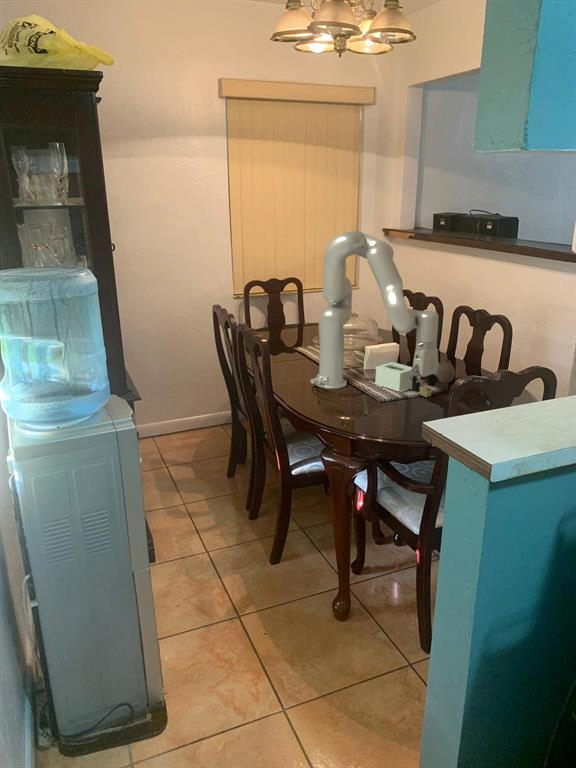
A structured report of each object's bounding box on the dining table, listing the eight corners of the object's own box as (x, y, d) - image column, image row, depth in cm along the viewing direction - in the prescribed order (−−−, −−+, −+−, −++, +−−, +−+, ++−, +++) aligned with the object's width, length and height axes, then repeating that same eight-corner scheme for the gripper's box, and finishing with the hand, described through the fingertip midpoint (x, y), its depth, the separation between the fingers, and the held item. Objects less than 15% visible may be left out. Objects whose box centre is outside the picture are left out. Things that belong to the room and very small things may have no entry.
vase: (454, 384, 228) (456, 363, 225) (436, 383, 229) (438, 362, 226) (453, 379, 234) (455, 359, 232) (436, 378, 236) (437, 358, 233)
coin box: (399, 393, 218) (400, 373, 215) (375, 385, 226) (376, 366, 224) (415, 387, 224) (416, 368, 222) (391, 380, 233) (392, 362, 230)
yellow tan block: (426, 398, 213) (426, 391, 212) (412, 394, 217) (413, 387, 216) (431, 396, 215) (431, 389, 214) (417, 392, 219) (418, 385, 218)
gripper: (420, 350, 202) (417, 396, 207) (448, 342, 212) (445, 385, 218) (403, 347, 207) (401, 391, 212) (431, 339, 218) (429, 381, 223)
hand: (423, 388), depth 215 cm, fingers open, 9 cm apart
